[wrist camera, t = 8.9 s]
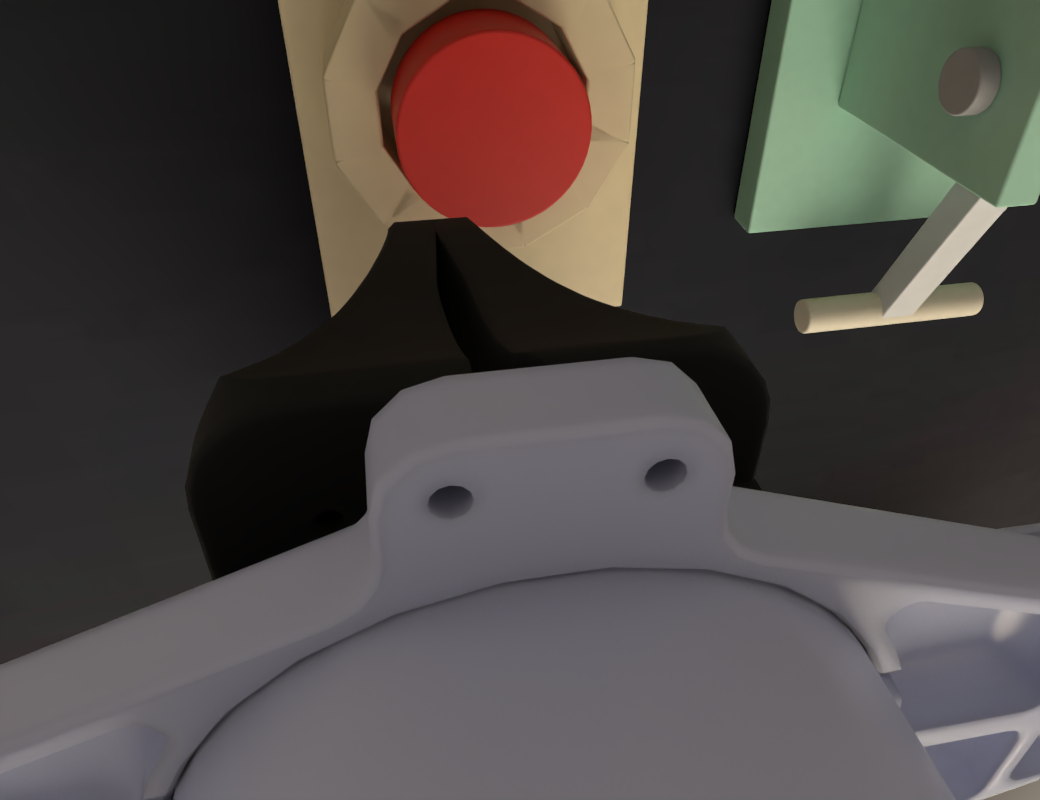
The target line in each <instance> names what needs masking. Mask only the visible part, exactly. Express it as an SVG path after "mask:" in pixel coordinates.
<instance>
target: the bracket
mask: <svg viewBox="0 0 1040 800" xmlns="http://www.w3.org/2000/svg"><path fill="white" fill-rule="evenodd" d="M956 182H957V183H958V184H960V185H961V186H963V187H965V188H966V189H968V190H969V191H971V192H972V193H974V194H976V195H977V196H979V197H980V198H982V199H983V200H985V201H986V202H988V203H990V204H991V205H993V206H994V207H996V208H1001V207H1013V206H1024V205H1033V204H1035V203H1036V202H1037V199H1038V197H1039V194H1040V0H772V2H771V7H770V13H769V19H768V25H767V30H766V36H765V42H764V48H763V54H762V59H761V65H760V71H759V77H758V83H757V88H756V94H755V100H754V106H753V112H752V117H751V123H750V129H749V135H748V140H747V146H746V152H745V158H744V164H743V169H742V175H741V181H740V187H739V193H738V198H737V204H736V210H735V216H734V217H735V219H736V220H737V221H738V222H739V223H740V224H741V226H742V227H743V228H744V229H745V230H746V231H747V232H748V233H757V232H768V231H780V230H791V229H803V228H814V227H825V226H837V225H848V224H859V223H871V222H882V221H894V220H905V219H916V218H928V217H930V215H931V214H932V213H933V211H934V210H935V209H936V207H937V206H938V205H939V204H940V202H941V201H942V200H943V198H944V197H945V196H946V194H947V193H948V192H949V191H950V189H951V188H952V187H953V185H954V184H955V183H956ZM1006 209H1007V208H1006ZM1006 209H1005V210H1006ZM1005 210H1004V211H1005Z"/></svg>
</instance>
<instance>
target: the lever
mask: <svg viewBox="0 0 1040 800" xmlns="http://www.w3.org/2000/svg"><path fill="white" fill-rule="evenodd" d="M1006 208H1007V207H1001V208H996V207H994V206H993V205H991V204H990V203H988V202H986V201H985V200H983V199H982V198H980V197H979V196H977V195H976V194H974V193H972V192H971V191H969V190H968V189H966V188H965V187H963V186H961V185H960V184H958V183H957V182H956V183H955V184H954V185H953V187H952V188H951V189H950V191H949V192H948V193H947V194H946V196H945V197H944V198H943V200H942V201H941V202H940V204H939V205H938V206H937V207H936V209H935V210H934V211H933V213H932V214H931V215H930V217H929V218H928V219H927V220H926V222H925V223H924V224H923V226H922V227H921V228H920V230H919V231H918V232H917V233H916V235H915V236H914V237H913V239H912V240H911V241H910V243H909V244H908V245H907V247H906V248H905V249H904V250H903V252H902V253H901V254H900V256H899V257H898V258H897V260H896V261H895V262H894V263H893V265H892V266H891V267H890V269H889V270H888V271H887V273H886V274H885V275H884V276H883V278H882V279H881V280H880V282H879V283H878V284H877V286H876V287H875V288H874V289H873V291H872V292H870V293H860V294H850V295H840V296H831V297H821V298H811V299H802V300H800V301H798V302H797V304H796V306H795V309H794V321H795V325H796V327H797V329H798V330H799V331H800V332H801V333H814V332H823V331H833V330H842V329H851V328H860V327H870V326H879V325H888V324H897V323H907V322H916V321H925V320H935V319H944V318H953V317H962V316H972V315H975V314H977V313H978V312H979V311H980V310H981V308H982V306H983V301H984V297H983V292H982V290H981V288H980V287H979V286H978V285H977V284H975V283H972V282H969V283H959V284H949V285H939V284H940V283H941V282H942V281H943V280H944V278H945V277H946V276H947V275H948V274H949V273H950V272H951V271H952V269H953V268H954V267H955V266H956V265H957V264H958V263H959V261H960V260H961V259H962V258H963V257H964V256H965V255H966V253H967V252H968V251H969V250H970V249H971V248H972V247H973V246H974V244H975V243H976V242H977V241H978V240H979V239H980V238H981V236H982V235H983V234H984V233H985V232H986V231H987V230H988V228H989V227H990V226H991V225H992V224H993V223H994V222H995V221H996V219H997V218H998V217H999V216H1000V215H1001V214H1002V213H1003V211H1004V210H1005V209H1006ZM938 285H939V286H938Z"/></svg>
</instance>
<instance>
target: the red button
mask: <svg viewBox="0 0 1040 800" xmlns="http://www.w3.org/2000/svg"><path fill="white" fill-rule="evenodd" d="M391 117H392V123H393V129H394V135H395V141H396V146H397V152H398V157H399V160H400V163H401V166H402V169H403V171H404V173H405V175H406V178H407V179H408V181H409V183H410V184H411V186H412V187H413V189H414V190H415V191H416V193H417V194H418V195H419V196H420V197H421V199H423V200H424V201H425V202H426V203H427V204H428V205H429V206H430V207H432V208H433V209H434V210H436V211H437V212H439V213H440V214H442V215H444V216H446V217H448V218H459V217H468V218H469V219H470V220H471V221H472V222H474V223H475V224H476V225H477V226H478V227H502V226H509V225H513V224H517V223H520V222H523V221H526V220H528V219H531V218H533V217H535V216H536V215H538V214H540V213H542V212H544V211H545V210H546V209H548V208H549V207H551V206H552V205H553V204H554V203H555V202H557V201H558V200H559V199H560V198H561V197H562V196H563V195H564V194H565V193H566V191H567V190H568V189H569V188H570V187H571V185H572V184H573V182H574V181H575V179H576V178H577V176H578V174H579V172H580V170H581V168H582V167H583V164H584V162H585V159H586V156H587V154H588V149H589V145H590V141H591V132H592V115H591V107H590V102H589V98H588V95H587V91H586V89H585V87H584V84H583V82H582V80H581V78H580V76H579V74H578V73H577V71H576V70H575V68H574V67H573V65H572V64H571V63H570V62H569V61H568V59H567V58H566V57H565V56H564V55H563V53H562V52H561V51H560V50H559V49H558V47H557V46H556V45H555V44H554V43H553V42H552V40H551V39H550V38H549V37H548V36H547V35H546V34H545V33H544V32H543V31H542V30H541V29H540V28H539V27H537V26H536V25H534V24H533V23H531V22H530V21H528V20H526V19H524V18H522V17H520V16H518V15H516V14H513V13H510V12H507V11H502V10H497V9H482V8H480V9H471V10H465V11H461V12H458V13H454V14H452V15H450V16H447V17H445V18H443V19H441V20H439V21H438V22H436V23H434V24H433V25H431V26H430V27H429V28H427V29H426V30H425V31H424V32H422V33H421V34H420V35H419V36H418V38H417V39H416V40H415V41H414V42H413V43H412V44H411V46H410V47H409V48H408V50H407V51H406V53H405V54H404V56H403V58H402V60H401V62H400V64H399V66H398V69H397V71H396V74H395V77H394V81H393V86H392V91H391Z"/></svg>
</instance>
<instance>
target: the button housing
mask: <svg viewBox="0 0 1040 800" xmlns="http://www.w3.org/2000/svg"><path fill="white" fill-rule="evenodd" d="M278 5H279V11H280V17H281V23H282V29H283V35H284V41H285V47H286V52H287V58H288V64H289V70H290V76H291V82H292V88H293V94H294V100H295V105H296V111H297V117H298V123H299V129H300V135H301V141H302V147H303V153H304V158H305V164H306V170H307V176H308V182H309V188H310V194H311V200H312V205H313V211H314V217H315V223H316V229H317V235H318V241H319V247H320V253H321V258H322V264H323V270H324V276H325V282H326V288H327V294H328V300H329V305H330V311H331V317H333V316H334V315H335V314H336V313H337V312H338V311H339V310H340V309H341V308H342V307H343V306H344V305H345V303H346V302H347V301H348V300H349V299H350V298H351V296H352V295H353V294H354V292H355V291H356V290H357V288H358V287H359V285H360V284H361V283H362V281H363V280H364V278H365V277H366V276H367V274H368V272H369V271H370V269H371V267H372V266H373V264H374V262H375V260H376V258H377V257H378V255H379V253H380V251H381V249H382V247H383V244H384V242H385V240H386V237H387V233H388V229H389V227H390V226H391V225H392V224H393V223H394V222H404V221H418V220H431V219H445V218H448V217H446V216H444V215H442V214H440V213H439V212H437V211H436V210H434V209H433V208H432V207H430V206H429V205H428V204H427V203H426V202H425V201H424V200H423V199H421V197H420V196H419V195H418V194H417V193H416V191H415V190H414V189H413V187H412V186H411V184H410V183H409V181H408V179H407V178H406V175H405V173H404V171H403V169H402V166H401V163H400V160H399V157H398V152H397V146H396V141H395V135H394V129H393V123H392V117H391V91H392V86H393V81H394V77H395V74H396V71H397V69H398V66H399V64H400V62H401V60H402V58H403V56H404V54H405V53H406V51H407V50H408V48H409V47H410V46H411V44H412V43H413V42H414V41H415V40H416V39H417V38H418V36H419V35H420V34H421V33H422V32H424V31H425V30H426V29H427V28H429V27H430V26H431V25H433V24H434V23H436V22H438V21H439V20H441V19H443V18H445V17H447V16H450V15H452V14H454V13H458V12H461V11H465V10H471V9H480V8H482V9H497V10H502V11H507V12H510V13H513V14H516V15H518V16H520V17H522V18H524V19H526V20H528V21H530V22H531V23H533V24H534V25H536V26H537V27H539V28H540V29H541V30H542V31H543V32H544V33H545V34H546V35H547V36H548V37H549V38H550V39H551V40H552V42H553V43H554V44H555V45H556V46H557V47H558V49H559V50H560V51H561V52H562V53H563V55H564V56H565V57H566V58H567V59H568V61H569V62H570V63H571V64H572V65H573V67H574V68H575V70H576V71H577V73H578V74H579V76H580V78H581V80H582V82H583V84H584V87H585V89H586V91H587V95H588V98H589V102H590V107H591V115H592V132H591V141H590V145H589V149H588V154H587V156H586V159H585V162H584V164H583V167H582V168H581V170H580V172H579V174H578V176H577V178H576V179H575V181H574V182H573V184H572V185H571V187H570V188H569V189H568V190H567V191H566V193H565V194H564V195H563V196H562V197H561V198H560V199H559V200H558V201H557V202H555V203H554V204H553V205H552V206H551V207H549V208H548V209H546V210H545V211H544V212H542V213H540V214H538V215H536V216H535V217H533V218H531V219H528V220H526V221H523V222H520V223H517V224H513V225H509V226H502V227H479V228H481V229H482V230H483V231H484V232H485V233H486V234H488V235H489V236H490V237H491V238H492V239H494V240H495V241H496V242H497V243H499V244H500V245H501V246H502V247H504V248H505V249H506V250H507V251H509V252H510V253H511V254H513V255H514V256H515V257H517V258H518V259H520V260H521V261H523V262H524V263H525V264H527V265H528V266H530V267H532V268H533V269H535V270H536V271H538V272H540V273H541V274H543V275H544V276H546V277H548V278H549V279H551V280H553V281H555V282H557V283H559V284H561V285H563V286H565V287H567V288H569V289H571V290H573V291H575V292H577V293H579V294H582V295H584V296H586V297H589V298H591V299H594V300H597V301H599V302H602V303H605V304H608V305H611V306H620V305H621V304H622V295H623V284H624V272H625V261H626V250H627V238H628V227H629V215H630V204H631V192H632V181H633V169H634V158H635V146H636V135H637V123H638V112H639V100H640V89H641V77H642V66H643V54H644V43H645V31H646V20H647V8H648V0H278Z"/></svg>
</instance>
